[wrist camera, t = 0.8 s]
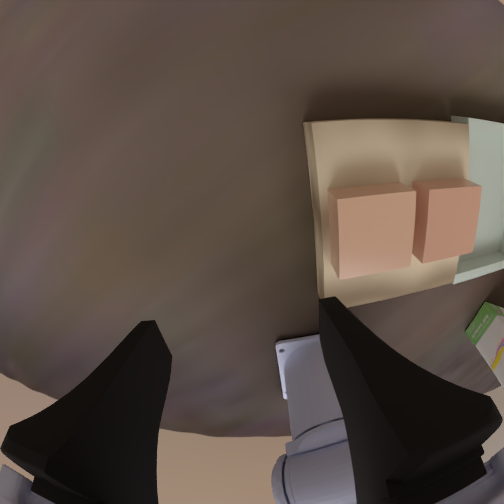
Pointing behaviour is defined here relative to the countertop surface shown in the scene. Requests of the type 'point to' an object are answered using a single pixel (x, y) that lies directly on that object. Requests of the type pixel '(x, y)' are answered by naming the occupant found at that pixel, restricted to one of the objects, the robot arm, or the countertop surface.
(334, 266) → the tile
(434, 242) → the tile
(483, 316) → the ink box
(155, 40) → the countertop surface
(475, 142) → the tray
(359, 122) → the beige square slab
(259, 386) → the countertop surface
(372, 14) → the countertop surface
